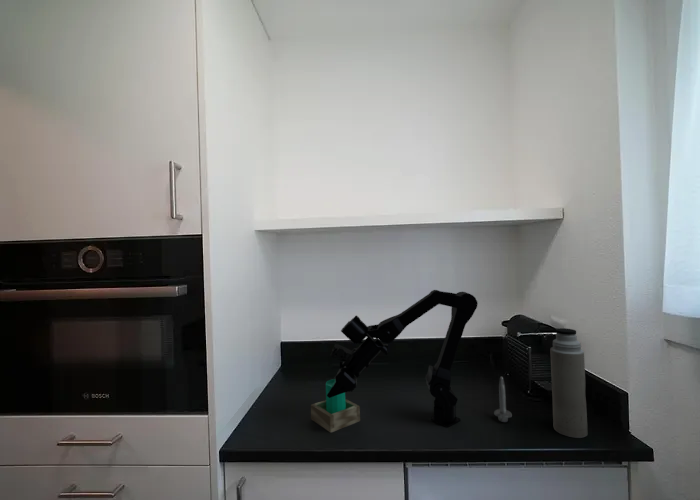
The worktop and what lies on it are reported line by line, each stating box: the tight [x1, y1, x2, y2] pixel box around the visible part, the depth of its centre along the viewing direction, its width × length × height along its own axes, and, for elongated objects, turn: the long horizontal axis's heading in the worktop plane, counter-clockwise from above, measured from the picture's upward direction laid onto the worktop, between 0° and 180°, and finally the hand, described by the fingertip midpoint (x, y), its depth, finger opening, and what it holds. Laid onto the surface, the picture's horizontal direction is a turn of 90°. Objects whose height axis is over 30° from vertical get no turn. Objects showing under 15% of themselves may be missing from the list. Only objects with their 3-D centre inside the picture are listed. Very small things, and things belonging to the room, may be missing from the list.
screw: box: [493, 376, 513, 423], centre depth 104 cm, size 13×5×5 cm
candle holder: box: [310, 398, 361, 433], centre depth 107 cm, size 11×11×4 cm
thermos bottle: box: [549, 327, 588, 439], centre depth 97 cm, size 8×8×28 cm
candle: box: [325, 378, 346, 414], centre depth 107 cm, size 6×6×12 cm
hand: (330, 390), depth 107 cm, fingers open, 9 cm apart
